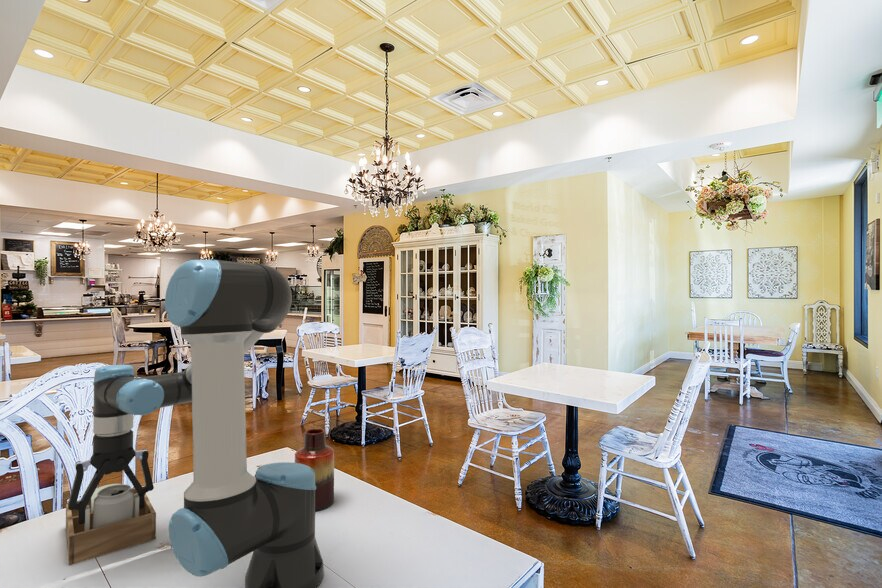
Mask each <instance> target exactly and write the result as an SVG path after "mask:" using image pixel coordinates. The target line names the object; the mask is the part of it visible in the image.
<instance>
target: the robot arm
mask: <svg viewBox="0 0 882 588" xmlns="http://www.w3.org/2000/svg"><path fill="white" fill-rule="evenodd" d="M291 289H292V288H291V286H290V283H289V282H288V280H287V278H286V277H285V276H284V274H282V272H280V271H279V270H278V269H275V268H273V267H272V266H270V265H267V264H263V263H248V262H241V261H240V262H239V261H228V260H219V259H191V260H187V261H185V262H183V263H181V264H180V265H179V266H178V267H176V269H175V271H174V272H173V274H172V276H171V277H170V279H169V281H168V284H167V287H166V291H165V297H164V309H165V313H166V314H167V319H168V321H169V322H170V323H171V324H172V325H175V326H177V327H178V328H180V336H181V337H180V338H182V339H183V340H185V341H186V342H187V343H188V344H189V345H190V358H191V359H190V361H191V363H190V364H189V365H188V366H187V367H186V368H185V370H184V371H180V372H174V373H173V372H171V373H165V374H158V375H149V376H142V377H136V374H135V369H134V366H132V365H130V364H110V365H104V366H99V367H98V368H96V369H95V371H94V378H93V382H92V385H93V421H92V422H93V425H92V426H93V430H92V431H93V432H92V434H93V433H94V434H95V435H94V436H93V437H92V456H91V457H90V458H89V459H86V460H83V461H81V460H78V461H76V462H75V464H74V466H75V471H76V473H75V476H74V480H73V484H72V487H71V491H70V495H69V499H68V502H67V503H68V509H69V510H78V523H79V525H80V524H84V531H87V530H90V508H89V505H87V504H88V503H89V501H90V499H91V497H92V495H93V493H94V491H95V490H96V488H98V486H99V484H100V482H101V481H102V479H103V477H104V476H106V475H110V474H113V473H121V472H124V474H125V475H126V477H127V478H128V479H129V481H130V483H131V484H132V486H133V488H135V489H136V491H137V492H138V493H136V494H134V511H133V518H135V517H139V509H141V508H144V499H145V494H146V495H147V493H148V492H151V491H153V490H154V488H155V487H154V483H153V479H152V474H151V470H150V466H149V462H148V458H149V453H150V452H149V451H148V450H147V449H146V448H143V449H142V450H135V449H134V431H133V428H134V416H146V415H150V414H152V413H153V412H155V411H157V410H158V409H161V408H166V407H171V406H175V405H181V404H186V403H187V404H189V403H191V416H192V421H191V422H192V424H191V425H192V463H193V466H192V467H193V469H192V470H193V481H192V482H191V483H190V485H188V487H187V488H186V490H185V491H183V507H181V508H179V509H178V510H176V511H175V512H174V513H172V514H171V517H170V520H169V521H168V522H169V524H168V535H169V537H168V538H169V541H170V545H171V548H172V550H173V554H174V556H175V557H176V560H178V563H179V564H180V565H181V567H182V568H183V569H184V570H185V571H186V572H187V573H189V574H191V575H192V576H194V577H200V578H201V577H206V576H208V575H210V574H212V573H214V572H216V571H219V570H222V569H226V568H227V567H228V565H230V564H232V563H234V562H236V561H238V560H239V559H242V558H244V557H246V556H247V555H249V554H250V553H252V556H251V558H250V560H249V563H248V566H247V567H248V568H247V570H246V574H245V577H244V588H318V586H320V584H321V582H322V581H323V579H324V560H323V556H322V554H321V551H320V548H319V546H318V543H317V542H318V541H317V538H316V512H315V500H316V486H315V473H314V471H313V469H312V468H311V467H309V466H307V465H304V464H300V463H295V462H290V461H289V462H287V461H284V462H273V463H267V464H264V465H261V466H259V467H258V468H257V469H256V471H255V474H254V475H252V474H251V473H250V472H248V471H247V470H248V464H247V463H248V462H247V461H248V460H247V426H246V424H247V423H246V390H245V389H246V388H245V387H246V385H245V384H246V383H245V382H246V381H245V355H246V353H247V352H248V351H249V350H250V349H251V348H252V347H253V346H254V345H255V344H256V343H257V342H258V341H259V340H260V339H261V338H262V337H263V336H264V335H265V334H270V333H272V332H274V331H275V330H276V329H277V328H278V327H279V326H280V325H281V324H282V323H283V321H284V320H285V319H286V317H287V316H288V314H289V312H290V309H291V308H292V304H293V303H292V302H293V301H292V300H293V295H292V290H291ZM135 457H136V458H137V460H138V461H140V462H139V463H140V467H141V470H142V474H143V478H144V482H145V485H144V486H142V485H141V482H140V481H139V479H138V478H137V476H136V475H135V473H134V472H133V469H132V468H131V467H130V465H129V464H130V463H131V461H132V460H133V459H134V458H135ZM89 466H92V467H93V468H95V472H94V473H93V477H92V478H91V480H90V481H89V484H88V486H87V488H86V489H85V491H84V493H83V494H82V497H81V498H80V499H79V500H80V502H77V501H78V498H79V494H80V492H81V491H80V490H81V487H82V483H83V479H84V476H85V475H84V474H85V472H86V471H87V470H88V469H89Z"/></svg>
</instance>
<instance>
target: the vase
mask: <svg viewBox="0 0 882 588" xmlns="http://www.w3.org/2000/svg"><path fill="white" fill-rule="evenodd" d="M303 440H304V441H303V447H301V448H299V449H297V450H296V452H295V453H294V463H300V464H304V465H307V466H309V467H311V468H312V469H313V471H314V473H315V486H316V500H315V513H316V512H320V511H323V510H326V509H328V508H330V507H331V506H332V505H333V504H334V500H335V450H334V449H333V447H331V446H329V445H327V444H326V432H325V429H324V428H311V429H309V428H308V429H307V430H305V431H304V439H303Z"/></svg>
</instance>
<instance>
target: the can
mask: <svg viewBox="0 0 882 588" xmlns="http://www.w3.org/2000/svg"><path fill="white" fill-rule="evenodd" d="M119 484H120V485H113V486H109V487H106V488H104V489H102V490H100V491H99V492H98V494H97V495H98V496H97V497H96V498H95V499H94V506H93V527H92V529H95V528H98V527H102V526H106V525H109V524H113V523H117V522H120V521H124V520H128V519H131V518H132V517H133V496H134V492H133V491H132V490H130V489H131V487H132V486H130V485H129V484H123V483H119Z"/></svg>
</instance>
